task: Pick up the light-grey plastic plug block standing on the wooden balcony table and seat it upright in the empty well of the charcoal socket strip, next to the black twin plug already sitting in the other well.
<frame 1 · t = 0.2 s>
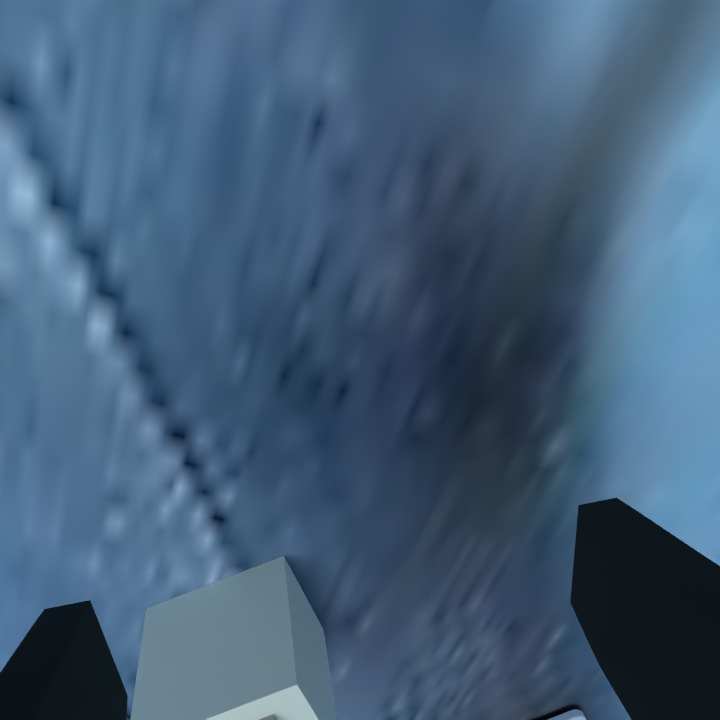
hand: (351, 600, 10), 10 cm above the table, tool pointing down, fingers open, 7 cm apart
grey plug: (238, 618, 23), on the table
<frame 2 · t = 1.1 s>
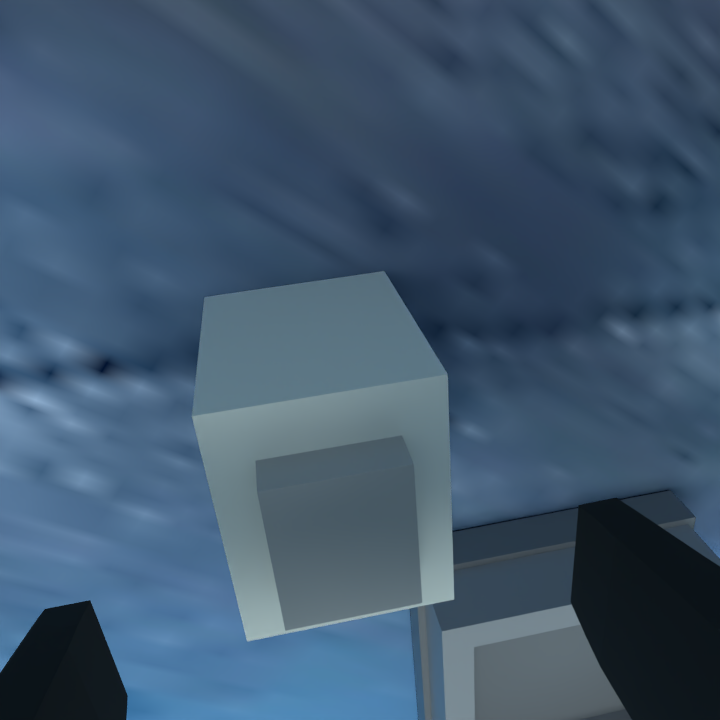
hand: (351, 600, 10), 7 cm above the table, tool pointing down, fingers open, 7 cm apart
grey plug: (309, 380, 16), on the table
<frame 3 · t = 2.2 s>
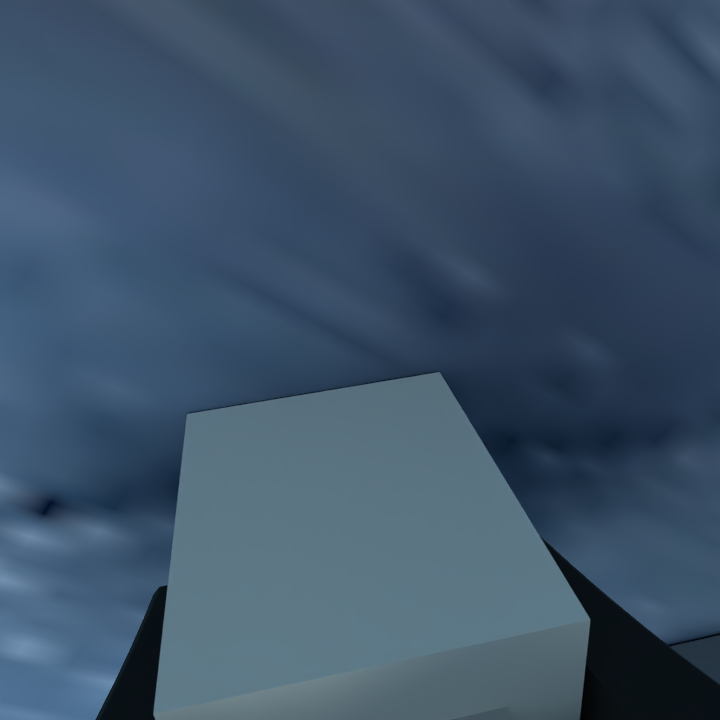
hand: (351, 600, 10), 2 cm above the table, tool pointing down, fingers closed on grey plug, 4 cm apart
grey plug: (333, 515, 11), on the table, touching gripper
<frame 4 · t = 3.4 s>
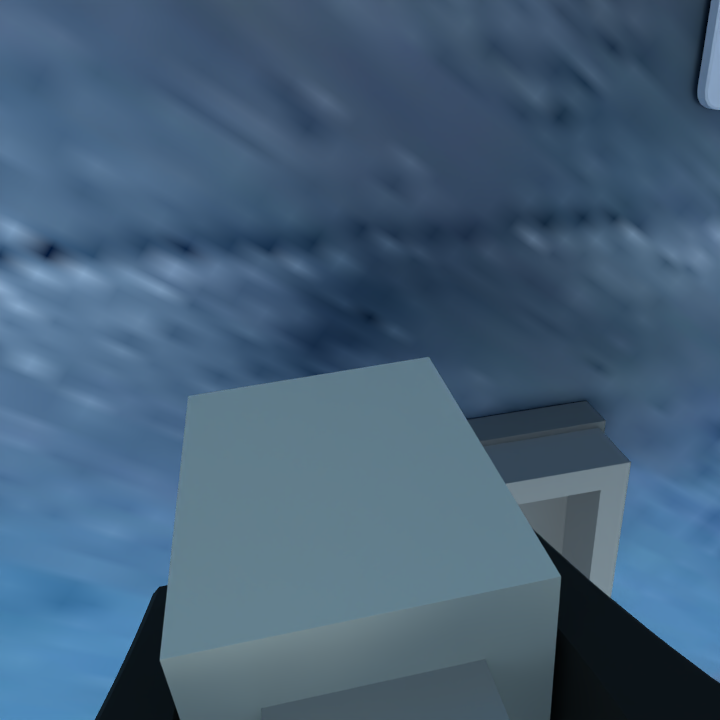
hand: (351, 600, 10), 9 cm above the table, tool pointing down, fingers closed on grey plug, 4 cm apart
grey plug: (327, 495, 12), point 7 cm above the table, touching gripper
socket strip: (463, 633, 25), on the table
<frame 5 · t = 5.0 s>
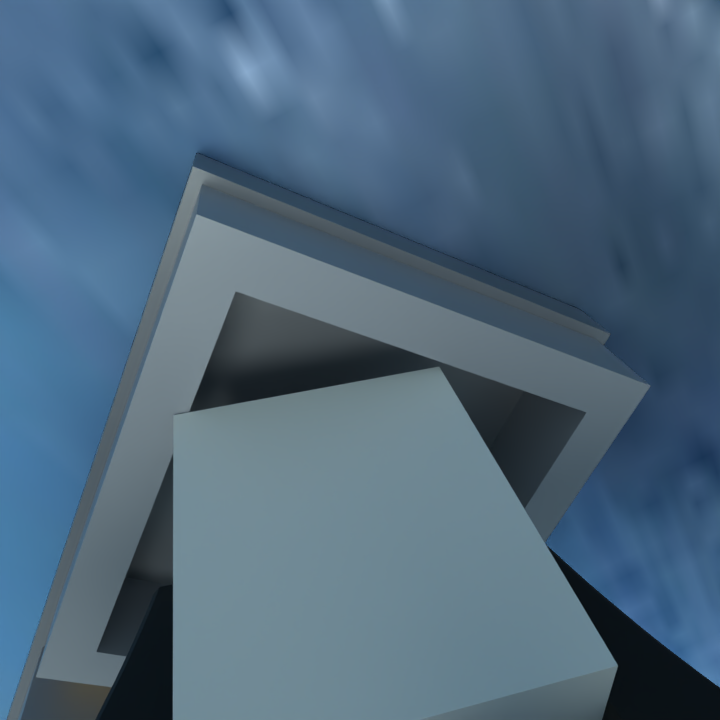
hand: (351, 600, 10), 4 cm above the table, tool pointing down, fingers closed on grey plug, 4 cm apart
grey plug: (324, 507, 11), point 3 cm above the table, tilted 7°, touching gripper, socket strip
socket strip: (233, 608, 15), on the table
when the fingers open (4 cm above the table, at t = 5.3 s): grey plug stays where it is, resting on socket strip.
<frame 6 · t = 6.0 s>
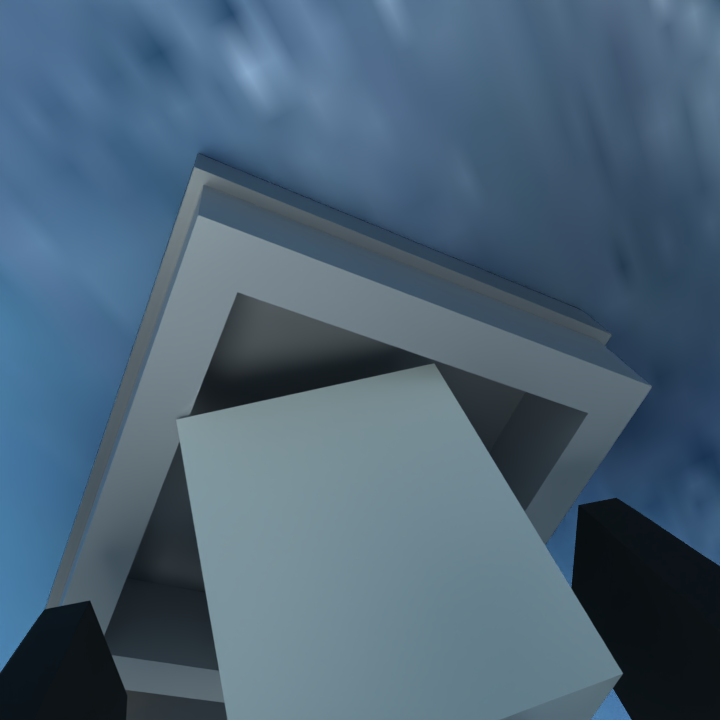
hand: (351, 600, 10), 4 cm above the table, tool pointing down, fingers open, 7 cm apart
grey plug: (315, 490, 12), point 2 cm above the table, tilted 18°, touching socket strip
socket strip: (234, 609, 15), on the table
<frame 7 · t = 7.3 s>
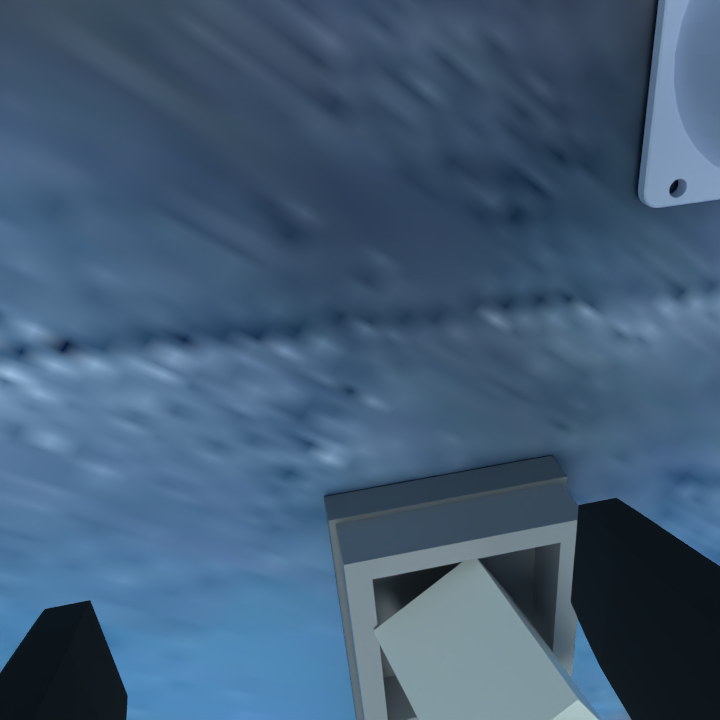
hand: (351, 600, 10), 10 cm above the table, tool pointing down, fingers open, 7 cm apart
grey plug: (450, 616, 22), point 2 cm above the table, tilted 18°, touching socket strip
socket strip: (447, 661, 27), on the table
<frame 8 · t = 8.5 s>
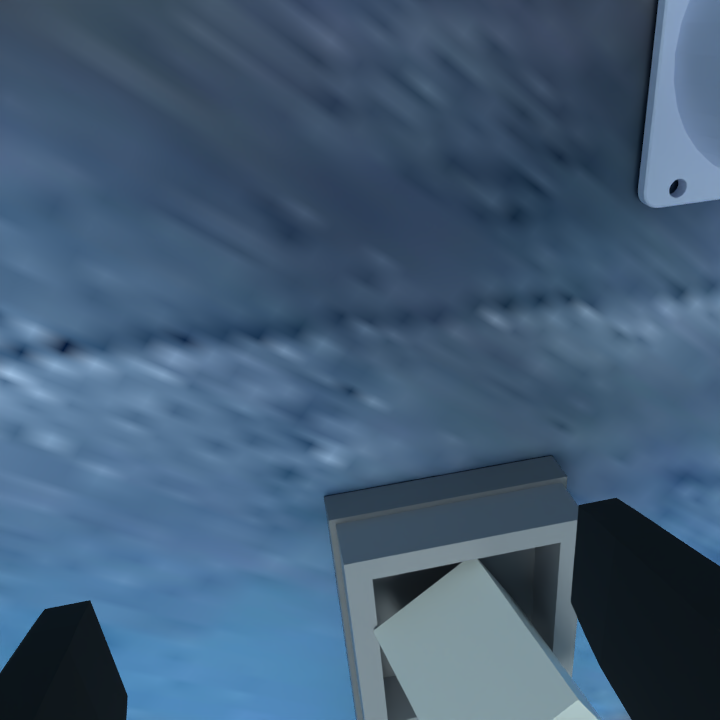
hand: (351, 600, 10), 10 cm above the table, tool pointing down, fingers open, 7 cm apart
grey plug: (450, 616, 22), point 2 cm above the table, tilted 18°, touching socket strip
socket strip: (447, 661, 27), on the table
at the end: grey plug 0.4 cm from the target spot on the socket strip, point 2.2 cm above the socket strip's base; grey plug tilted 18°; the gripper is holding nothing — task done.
